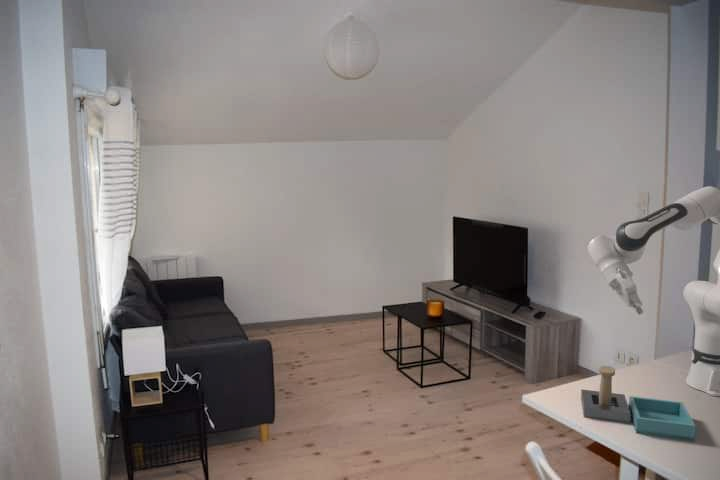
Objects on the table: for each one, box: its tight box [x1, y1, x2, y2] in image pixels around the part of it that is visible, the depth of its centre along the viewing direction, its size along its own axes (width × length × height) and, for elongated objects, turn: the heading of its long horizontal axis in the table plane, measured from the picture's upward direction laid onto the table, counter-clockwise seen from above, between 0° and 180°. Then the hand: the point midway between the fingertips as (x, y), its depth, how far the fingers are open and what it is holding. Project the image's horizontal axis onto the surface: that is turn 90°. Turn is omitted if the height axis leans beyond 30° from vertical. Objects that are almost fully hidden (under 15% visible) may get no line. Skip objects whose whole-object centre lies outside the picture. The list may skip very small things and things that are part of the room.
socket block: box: [580, 388, 631, 424], centre depth 184 cm, size 14×14×4 cm
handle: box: [598, 365, 616, 406], centre depth 183 cm, size 5×6×15 cm
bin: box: [628, 395, 696, 442], centre depth 174 cm, size 16×16×5 cm
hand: (640, 309), depth 181 cm, fingers open, 8 cm apart
